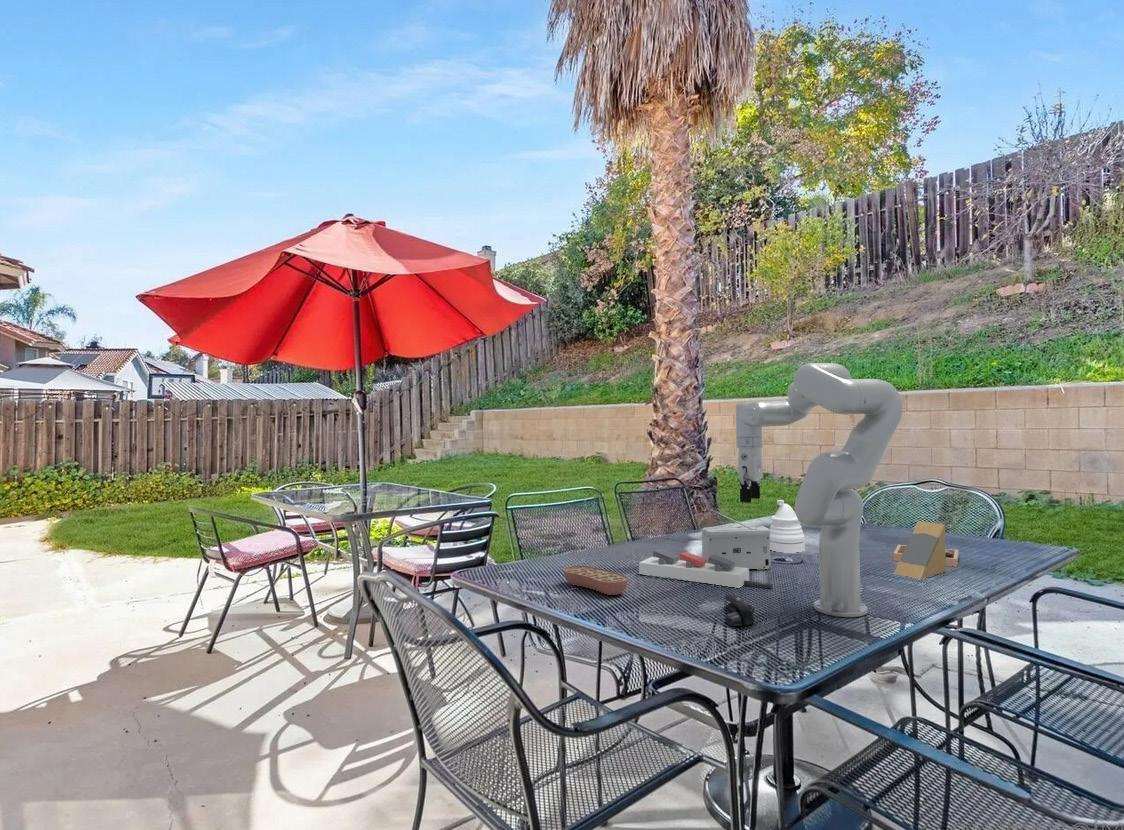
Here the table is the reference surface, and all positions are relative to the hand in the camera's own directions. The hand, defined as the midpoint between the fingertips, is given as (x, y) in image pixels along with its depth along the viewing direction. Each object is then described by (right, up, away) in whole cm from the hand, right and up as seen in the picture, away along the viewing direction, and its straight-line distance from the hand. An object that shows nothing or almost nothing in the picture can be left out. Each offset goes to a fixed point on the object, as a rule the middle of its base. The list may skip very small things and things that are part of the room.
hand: (750, 500), depth 194 cm
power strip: (-13, -24, +1) cm, 28 cm away
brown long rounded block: (-47, -26, -7) cm, 54 cm away
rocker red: (-17, -19, +3) cm, 26 cm away
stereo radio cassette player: (0, -24, +14) cm, 28 cm away
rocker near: (-9, -19, -2) cm, 21 cm away
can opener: (-13, -25, -34) cm, 44 cm away
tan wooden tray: (+65, -22, +20) cm, 72 cm away
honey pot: (+25, -23, +39) cm, 52 cm away
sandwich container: (+53, -23, +3) cm, 58 cm away
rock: (+66, -23, +20) cm, 72 cm away
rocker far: (-24, -19, +8) cm, 32 cm away
